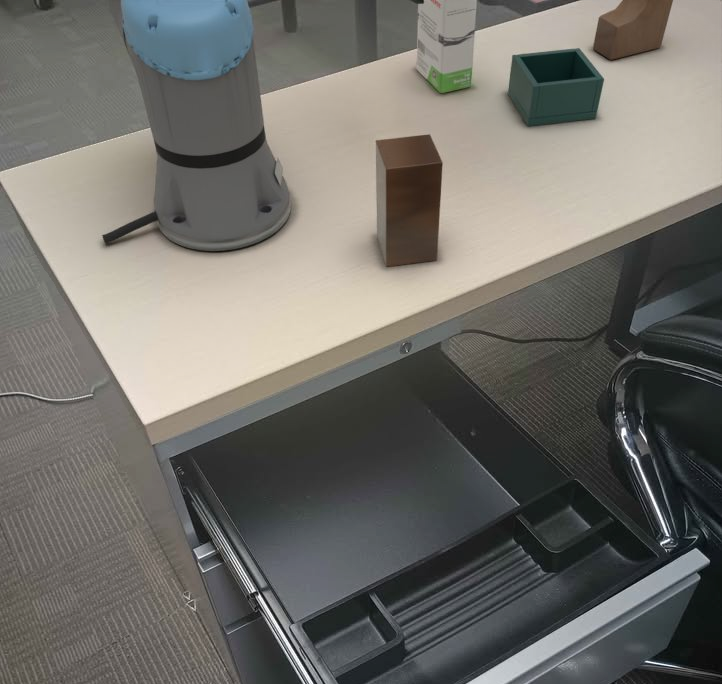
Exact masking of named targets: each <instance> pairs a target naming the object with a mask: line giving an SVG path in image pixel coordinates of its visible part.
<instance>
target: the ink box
mask: <svg viewBox="0 0 722 684" xmlns="http://www.w3.org/2000/svg"><path fill="white" fill-rule="evenodd" d="M477 5H478V0H424V4H417V30H416V31H417V32H416V33H417V34H416V35H417V37H416V39H417V40H416V41H417V42H416V68H415V70H417V71H418V73H419V74H421V76H422V77H424V79H425V80H426V81H427V82H429V83H430V85H431V86H432V87H433V88H434V89H435V90H436V91H437V92H438V93H439V94H444V93H448V92H453V91H458V90H462V89H466V88H470V87H472V79H473V77H472V76H473V63H474V49H475V33H476V20H477V19H476V18H477Z"/></svg>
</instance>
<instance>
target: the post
mask: <svg viewBox="0 0 722 684" xmlns="http://www.w3.org/2000/svg"><path fill="white" fill-rule="evenodd" d="M442 180H443V160H442V157H441V156H440V153H439V151H438V149H437V147H436V145H435V142H434V139H433V138H432V136H431V134H429V133H428V134H421V135H410V136H403V137H401V136H400V137H393V138H384V139H376V140H375V190H376V192H375V195H376V197H375V198H376V199H375V200H376V239H377V241H378V245H379V248H380V252H381V254H382V258H383V260H384V264H385V267H395V266H403V265H411V264H418V263H419V264H420V263H426V262H427V263H428V262H435V261H437V260H438V249H439V247H438V246H439V233H440V232H439V231H440V215H441V199H442V182H443V181H442Z"/></svg>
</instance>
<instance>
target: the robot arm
mask: <svg viewBox="0 0 722 684" xmlns="http://www.w3.org/2000/svg"><path fill="white" fill-rule="evenodd" d="M103 1H104V3H105V5H106V7H107V9H108V11H109V14H110V17H111V18H112V20H113V22H114V24H115V26H116V28H117V30H118V32H119V34H120V37H121V38H122V41H123V44H124V46H125V49H126V51H127V54H128V56H129V59H130V61H131V64H132V66H133V68H134V72H135V74H136V77H137V81H138V84H139V87H140V92H141V96H142V99H143V100H142V101H143V103H144V107H145V112H146V115H147V119H148V123H149V127H150V132H151V135H152V138H153V143H154V147H155V151H156V167H155V181H154V193H153V210H154V211H153V212H150V213H148V214H145V215H144V216H141V217H138V218H137V219H135V220H133V221H130V222H128V223H125V224H124V225H122V226H120V227H118V228H115V229H114V230H112V231H109V232H108V233H104V234H102V235H101V236H102V239H103V242H104V244H110V243H112V242H115V241H116V240H119V239H120V238H123V237H125V236H126V235H128V234H131V233H133V232H135V231H137V230H139V229H141V228H144V227H146V226H148V225H150V224H152V223H153V224H154V222H156V223H157V227H158V228H159V230H160V231H161V233H162V235H164V237H166V238H167V240H170V241H171V242H173V243H175V244H176V245H178V246H181V247H184V248H187V249H191V250H197V251H206V252H222V251H229V250H230V251H231V250H237V249H241V248H246V247H249V246H252V245H255V244H258V243H259V242H262V241H263V240H266V239H268V238H269V237H270V236H272V235H274V234H275V233H277V232H278V231H279V230H280V229H281V228H282V227H283V226H284V225H285V223H286V222H287V221H288V219H289V216H290V214H291V210H292V209H291V208H292V205H291V196H290V195H291V194H290V191H289V187H288V183H287V181H286V179H285V177H284V175H283V173H284V172H283V171H284V168H283V165H282V163H281V161H280V159H279V156H277V157H276V158H275V156H274V154H273V151H272V150H271V147H270V146H269V144H268V140H267V136H266V135H267V134H266V129H265V121H264V113H263V112H264V111H263V104H262V96H261V90H260V81H259V74H258V66H257V65H258V64H257V58H256V51H255V50H256V49H255V41H254V22H253V21H254V19H253V16H252V11H251V9H250V5H249V3H248V2H249V1H248V0H103ZM409 1H410V2H412V3H415V4H416V5H418V4H424V0H409Z"/></svg>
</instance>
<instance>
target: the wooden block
mask: <svg viewBox="0 0 722 684" xmlns="http://www.w3.org/2000/svg"><path fill="white" fill-rule="evenodd" d="M673 3H674V0H621V2H620V3H619V4H618V5H617V6H616V8H614V9H612V10H610V11H607V12H606V13H603V14H601V15H599V16H598V19H597V24H596V31H595V36H594V40H593V45H592V48H593V50H594V51H596V52H597V53H599V54H600V55H602V56H603V57H605V58H606V59H608V60H610V61H612V60H616V59H621V58H624V57H627V56H628V57H629V56H633V55H636V54H640V53H645V52H647V51H652V50H657V49H660V48H661V47H662V44H663V41H664V36H665V33H666V29H667V25H668V22H669V18H670V13H671V10H672V7H673Z"/></svg>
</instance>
